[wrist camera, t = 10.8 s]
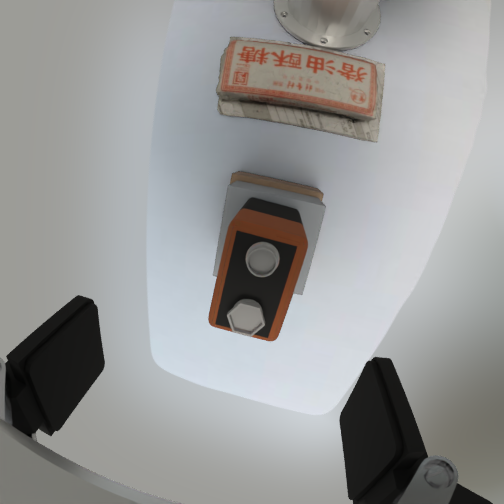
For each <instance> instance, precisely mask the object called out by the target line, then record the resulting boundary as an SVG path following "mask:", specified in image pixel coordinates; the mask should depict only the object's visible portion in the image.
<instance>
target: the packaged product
mask: <svg viewBox="0 0 504 504" xmlns="http://www.w3.org/2000/svg"><path fill="white" fill-rule="evenodd" d="M384 71H385V64H382V63H379V62H375V61H372V60H370V59H366V58H362V57H358V56H353V55H349V54H346V53H342V52H337V51H333V50H329V49H324V48H319V47H314V46H309V45H303V44H292V43H289V42H282V41H274V40H263V39H255V38H243V37H230V42H229V45H228V47H227V48H225V50H224V54H223V55H222V56H221V63H220V75H219V83H218V85H217V88H216V92H217V95H219V100H218V108H217V110H218V112H219V113H220V114H221V115H226V116H236V117H249V118H255V119H260V120H266V121H271V122H278V123H284V124H289V125H294V126H299V127H304V128H309V129H314V130H319V131H324V132H328V133H333V134H338V135H342V136H346V137H351V138H355V139H359V140H365V141H372V142H377V139H378V133H379V123H380V117H381V106H382V97H383V87H384V75H385V72H384Z"/></svg>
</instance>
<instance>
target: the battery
mask: <svg viewBox="0 0 504 504" xmlns="http://www.w3.org/2000/svg"><path fill="white" fill-rule="evenodd" d="M307 249H308V240H307V237H306V233H305V230H304V226H303V223H302V220H301V216H300V213H299V211H298V210H297V209H295V208H291V207H288V206H284V205H280V204H277V203H273V202H269V201H265V200H261V199H258V198H253V197H252V198H249V199H248V200H247V202H246V203H245V204H244V205H243V207H242V208H241V209H240V210H239V212H238V213H237V214H236V216H235V217H234V218H233V219H232V221H231V222H230V224H229V226H228V230H227V234H226V238H225V243H224V247H223V252H222V256H221V261H220V265H219V270H218V274H217V279H216V283H215V288H214V293H213V298H212V302H211V307H210V312H209V318H208V320H209V323H210V325H211V326H213V327H217V328H220V329H224V330H228V331H231V332H234V333H238V334H242V335H246V336H250V337H254V338H258V339H262V340H266V341H274V340H276V339H277V337H278V335H279V333H280V330H281V327H282V324H283V322H284V319H285V316H286V313H287V310H288V307H289V304H290V301H291V298H292V295H293V292H294V289H295V286H296V283H297V280H298V277H299V274H300V271H301V268H302V265H303V262H304V259H305V256H306V252H307Z"/></svg>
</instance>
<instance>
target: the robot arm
mask: <svg viewBox="0 0 504 504" xmlns="http://www.w3.org/2000/svg"><path fill="white" fill-rule="evenodd" d="M379 2H380V0H274V10H275V13H276V16H277V18H278V20H279V22H280V23H281V25H282V26H283V27H284V28H285V29H286V31H287V32H288V33H290V34H291V35H292V36H293V37H295V38H296V39H298V40H300V41H301V42H303V43H305V44H308V45H310V46H314V47H319V48H324V49H329V50H333V51H343V50H349V49H354V48H357V47H359V46H362V45H363V44H365V43H366V42H368V41H369V40H370V39H371V38H372V37H373V36H374V34H375V33H376V31H377V30H378V27H379V24H380V18H381V14H380V9H379V5H378V3H379ZM283 16H286V17H283ZM364 33H366V34H367V35H366V34H364ZM321 42H324V43H325V44H322V43H321ZM6 357H7V359H8V361H7V362H6V363H4V361H3V360H2V359H1V358H0V504H181V503H178V502H174V501H171V500H167V499H164V498H161V497H158V496H154V495H151V494H148V493H145V492H142V491H139V490H137V489H134V488H131V487H128V486H126V485H123V484H121V483H118V482H116V481H113V480H111V479H108V478H106V477H104V476H102V475H99V474H97V473H95V472H93V471H90V470H88V469H86V468H84V467H82V466H80V465H78V464H76V463H74V462H72V461H70V460H68V459H66V458H64V457H62V456H61V455H59V454H57V453H55V452H53V451H52V450H50V449H48V448H47V447H45V446H43V445H41V444H39V443H38V442H37V438H36V431H37V430H38V429H40V430H41V431H43V432H44V433H46V434H48V435H50V436H52V434H53V433H54V432H55V431H58V430H60V428H61V427H62V426H63V425H64V423H65V421H66V420H67V419H68V417H69V416H70V414H71V413H72V412H73V410H74V409H75V408H76V406H77V405H78V403H79V402H80V401H81V399H82V398H83V397H84V395H85V394H86V392H87V391H88V390H89V388H90V387H91V385H92V384H93V383H94V382H95V380H96V379H97V377H98V376H99V375H100V374H101V372H102V371H103V369H104V364H105V361H104V355H103V348H102V341H101V334H100V327H99V317H98V309H97V306H96V305H95V304H94V301H93V300H92V299H89V298H86V297H83V296H79V295H78V296H76V297H75V298H73V299H72V300H71V301H70V302H69V303H67V304H66V305H65V306H64V307H62V308H61V309H60V310H59V311H58V312H56V313H55V314H54V315H53V316H52V317H51V318H49V319H48V320H47V321H46V322H44V323H43V324H42V325H41V326H40V327H39V328H37V329H36V330H35V331H34V332H33V333H32V334H30V335H29V336H28V337H27V338H26V339H25V340H24V341H22V342H21V343H20V344H19V345H18V346H17V347H16V348H15V349H13V350H12V351H11V352H10V353H9V354H8V355H7V356H6ZM340 428H341V436H342V442H343V451H344V460H345V469H346V478H347V489H348V497H349V499H350V500H353V504H493V503H491V502H490V501H488V500H487V499H484V498H483V497H481V496H479V495H477V494H475V493H474V492H472V491H470V490H468V489H467V488H465V487H463V486H461V485H460V484H458V483H457V482H458V471H457V468H456V466H455V465H454V464H453V463H452V462H451V461H450V460H449V459H447V458H445V457H442V456H436V455H435V456H430V457H428V455H427V452H426V449H425V446H424V443H423V441H422V437H421V435H420V432H419V429H418V426H417V423H416V421H415V418H414V415H413V413H412V410H411V407H410V405H409V402H408V400H407V397H406V394H405V392H404V389H403V387H402V385H401V382H400V379H399V377H398V375H397V372H396V370H395V367H394V365H393V363H392V360H391V359H389V358H379V357H374V358H373V359H372V360H371V361H368V362H367V363H366V364H365V367H364V369H363V371H362V373H361V375H360V377H359V379H358V381H357V384H356V385H355V388H354V389H353V391H352V393H351V395H350V397H349V399H348V401H347V403H346V405H345V407H344V408H343V410H342V412H341V415H340Z"/></svg>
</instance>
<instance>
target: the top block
mask: <svg viewBox="0 0 504 504" xmlns="http://www.w3.org/2000/svg"><path fill="white" fill-rule="evenodd" d="M252 197H253V198H258V199H261V200H265V201H269V202H273V203H277V204H280V205H284V206H288V207H291V208H295V209H297V210H298V211H299V213H300V216H301V220H302V223H303V226H304V230H305V233H306V237H307V240H308V249H307V252H306V256H305V259H304V262H303V265H302V268H301V271H300V274H299V277H298V280H297V283H296V286H295V289H294V292H293V293H294V294H299V295H302V294H303V291H304V287H305V284H306V280H307V276H308V273H309V269H310V266H311V262H312V258H313V255H314V251H315V247H316V243H317V240H318V236H319V232H320V228H321V224H322V220H323V216H324V212H325V208H326V206H325V205H324V204H323V202H322V201H321V200H320V199H319V198H317V197H312V196H308V195H304V194H300V193H295V192H291V191H286V190H282V189H277V188H272V187H268V186H263V185H258V184H253V183H248V182H243V181H238V180H237V181H235V182H233V183H232V184H230V185H228V189H227V195H226V200H225V206H224V211H223V217H222V223H221V229H220V235H219V241H218V247H217V253H216V259H215V266H214V272H213V276H216V277H217V274H218V270H219V265H220V261H221V256H222V252H223V247H224V243H225V238H226V234H227V230H228V226H229V224H230V222H231V221H232V219H233V218H234V217H235V216H236V214H237V213H238V212H239V210H240V209H241V208H242V207H243V205H244V204H245V203H246V202H247V200H248V199H249V198H252Z"/></svg>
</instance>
